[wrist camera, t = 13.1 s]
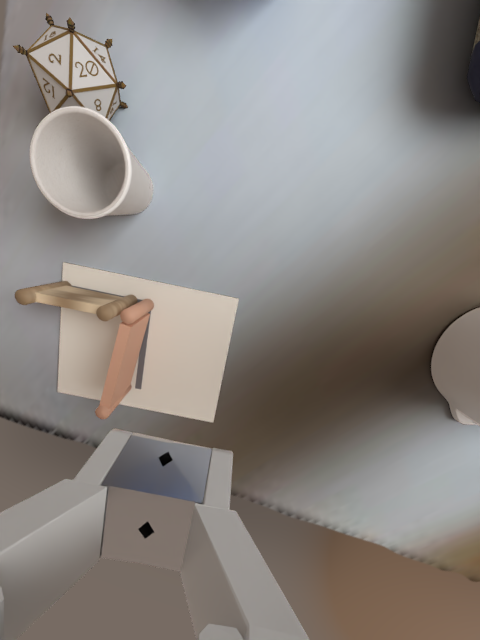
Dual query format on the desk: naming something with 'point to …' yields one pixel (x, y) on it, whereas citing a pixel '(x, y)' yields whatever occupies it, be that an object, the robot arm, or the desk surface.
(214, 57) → the desk surface
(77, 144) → the dixie cup
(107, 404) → the fence gate
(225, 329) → the card
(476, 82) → the portable speaker
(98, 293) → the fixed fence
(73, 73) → the game die
